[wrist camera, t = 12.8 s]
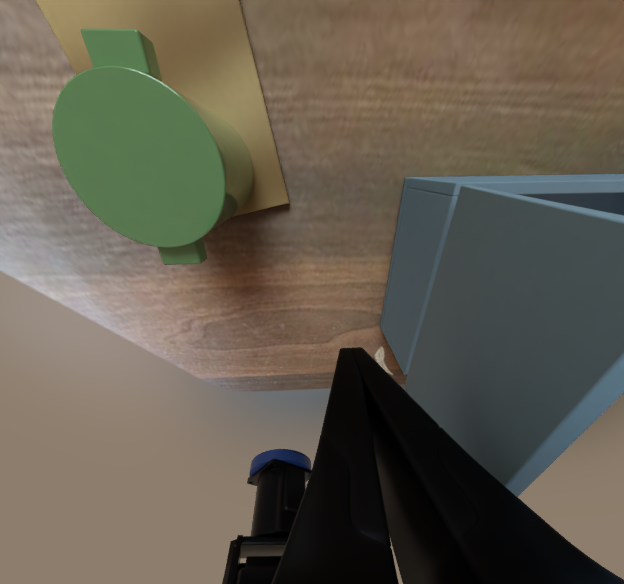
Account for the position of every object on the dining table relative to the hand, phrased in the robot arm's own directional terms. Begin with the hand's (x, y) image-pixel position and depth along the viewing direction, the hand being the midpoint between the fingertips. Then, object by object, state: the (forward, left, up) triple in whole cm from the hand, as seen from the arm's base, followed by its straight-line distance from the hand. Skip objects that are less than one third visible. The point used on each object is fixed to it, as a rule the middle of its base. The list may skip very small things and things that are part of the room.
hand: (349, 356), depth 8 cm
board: (+12, +22, -9) cm, 27 cm away
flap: (+2, -3, +1) cm, 4 cm away
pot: (+1, +9, -8) cm, 12 cm away
